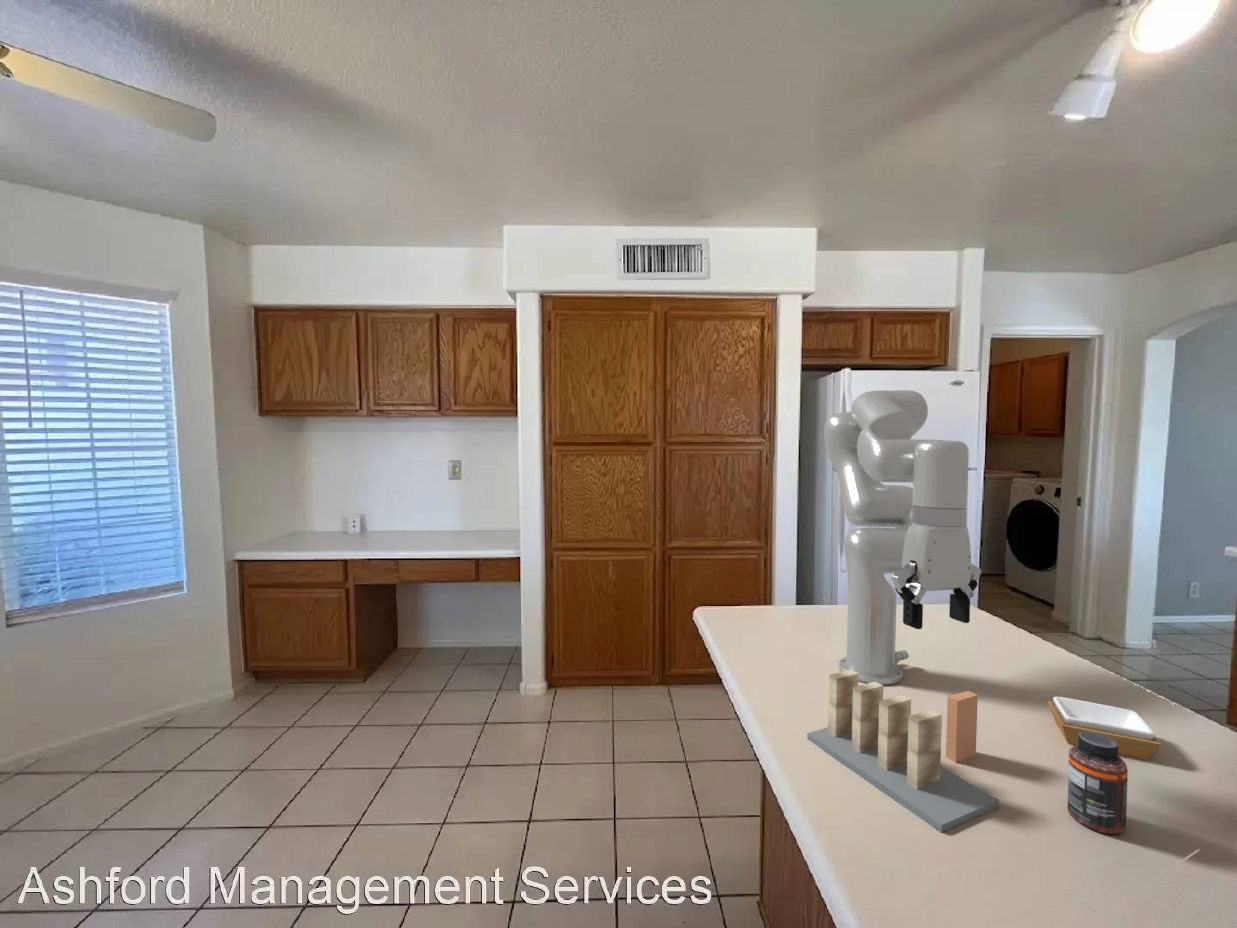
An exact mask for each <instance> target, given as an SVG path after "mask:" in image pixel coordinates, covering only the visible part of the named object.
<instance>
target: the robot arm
mask: <svg viewBox="0 0 1237 928" xmlns="http://www.w3.org/2000/svg"><path fill="white" fill-rule="evenodd" d="M928 413H929V407H928V403H927V400H926V398H925V397H924V396H923V395H922V394H921V393H919V392H917V391H915V390H910V389H909V390H907V389H906V390H899V389H898V390H869V391H866V392H863V393H861V394H860V395H858V396H857V397H856V398H855V399H854V400H853V401H852V405H851V410H850V411H843V412H839V413H835V414H833V415H831V416H830V417H829V418H827V420H826V421H825V425H824V429H823V431H824V432H823V435H824V437H823V438H824V444H825V449H826V453H827V454H828V457H829V460H830V461H831V463H832V465H833V467H834V470H835V471H836V473H837V477H838V480H839V481H838V482H839V487H840V493H841V499H842V504H843V509H844V513H845V516H846V519H847V520H848V522H849V523H850V524H852V525H854V526H857V527H860V528H856V529H853V530H851V531H850V532H849V533H848V534H847V535H846V537H845V538H844V539H845V540H844V544H843V545H844V547H843V548H844V557H845V562H846V569H847V570H846V572H847V618H846V619H847V623H846V625H847V626H846V627H847V629H846V656H845V657H843V658H841V659H840V660H839V661H838V669H839V670H840V672H844V671H848V670H853V671H855V672H857V673H858V682H862V683H865V684H868V683H872V682H877V683H879V684H881V685H883V686H886V685H895V684H897V683H900V682H901V681H902V680H903V677H904V673H903V670H902V669H901V668H900V667H899V666H898V663H899V662H901V661H904V660H908V659H909V653H908V651H906V650H905V649H903V650H902V649H901V650H899V651H896V636H897V635H896V634H897V633H896V630H897V594H898V595H899V598H900V600H902V602H903V603H902V606H903V608H902V622H903V623H902V624H904V625H906V626H909V627H911V628H913V629H916V630H922V629H923V619H924V618H923V616H924V615H923V613H924V606H923V604H922V603H920V602H921V600H922V599H923V598H924V595H926V593H927V592H935V591H937V592H938V591H947V590H951V591H952V592H953V593H950V595H949V614H948V615H949V616H948V617H949V618H951V619H953V620H955V621H958V622H960V623H964V624H968V623H970V619H971V618H970V616H971V599H972V598H973V597H974V596H975V594H974V591H975V589H976V588H977V587H978V584H979V583H978V581H979V579H980V577H981V574H982V568H980V567H978V566H976V565H975V564H973V563H972V552H971V549H972V548H971V541H970V533H969V528H968V526H967V525H968V495H969V494H968V491H969V489H968V488H969V459H970V457H969V455H970V453H969V451H970V450H969V447H968V445H967V444H966V443H964V442H963V441H959V440H942V439H917V438H915V439H913V438H912V437H913V436H914V435H916V434H917V433H918V432H919V431H920V430H921V429H922V427H923V426H925V423H926V421H927V417H928V415H929V414H928ZM883 483H912V487H911V486H907V485H899V484H895V485H894V484H883ZM886 574H892V575H891V581H892V582H893V585H894V587H895V589H894V587H893V586H892V585H891V583H889V581H888V580H887V578H886V577H885V575H886ZM914 590H915V592H914ZM896 593H897V594H896Z"/></svg>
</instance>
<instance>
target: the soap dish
mask: <svg viewBox="0 0 1237 928" xmlns="http://www.w3.org/2000/svg"><path fill="white" fill-rule="evenodd" d="M1052 699H1053V700H1052V701H1051V700H1048V701H1047V704H1048V707H1049V709H1050V711H1051V714H1052V716H1053V719H1054V722H1055V724H1056V725H1057V727H1058V728H1059V732H1061V735H1062V736H1063V737H1064V740H1065V741H1066V743H1067V744H1068V745H1073V746H1075V745H1078V744H1079V743H1078V740H1079V733H1080V732H1084V731H1088V732H1095V733H1099V734H1103V735H1105V736H1108V737H1110V738H1112V739H1113V740H1115V741H1116V742H1117V743H1118V755H1120V756H1121V755H1122V756H1127V757H1132V758H1137V759H1141V760H1145V761H1146V760H1147V761H1148V760H1150V759H1151V758H1152V756H1154V755H1155V753H1156V752H1157V751H1158V750H1159V749H1160V748H1161V747H1162V743H1161V742H1160V740H1158V737H1156V733H1155V731H1153V729H1152V728H1151V727H1150V726H1149V725H1148V724H1147V722H1146V721H1145V720H1144V719H1143V718H1142V717H1141V716H1140V714H1138V713H1137V712H1136V711H1134V710H1131V709H1127V708H1122V707H1117V706H1112V705H1106V704H1102V703H1095V702H1091V701H1087V700H1086V701H1085V700H1081V699H1075V698H1070V697H1064V696H1054V697H1052Z"/></svg>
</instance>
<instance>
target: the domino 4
mask: <svg viewBox="0 0 1237 928" xmlns="http://www.w3.org/2000/svg"><path fill="white" fill-rule="evenodd" d="M942 724H943V714H942V712H941V713H940V712H938V711H936V710H934V709H928V710H925V711H921V712H918V713H915V714H911V716H909V718H908V753H907V784H909V785H910V786H912V787H913V788H915V789H916V790H917V789H920V788H922V787H925V786H927V785H930V784H933V783H935V782H938V781H940V766H941V764H942V763H941V760H942V755H941V754H942V733H943V732H942V727H943V726H942Z"/></svg>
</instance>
